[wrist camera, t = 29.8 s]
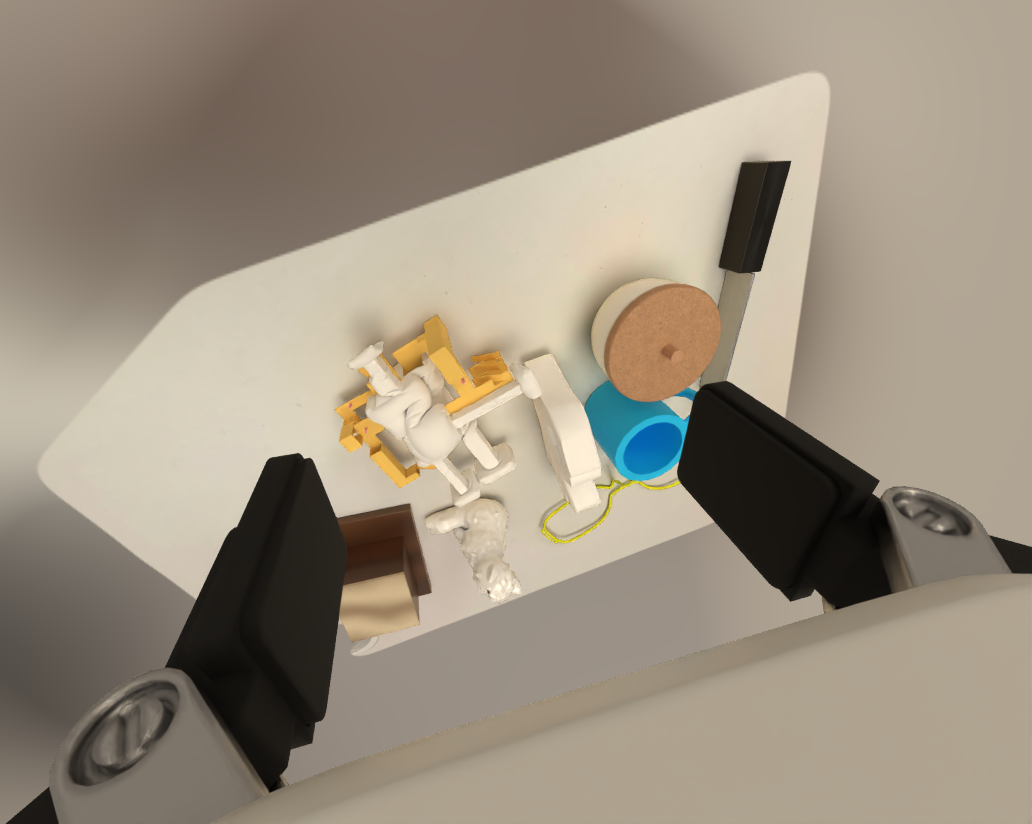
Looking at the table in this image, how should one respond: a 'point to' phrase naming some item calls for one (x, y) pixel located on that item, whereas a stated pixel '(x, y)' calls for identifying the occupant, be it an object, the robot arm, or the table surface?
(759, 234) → the tall black pillar
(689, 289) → the trinket box
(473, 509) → the white creature statuette
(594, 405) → the mug
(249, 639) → the robot arm
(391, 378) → the figure
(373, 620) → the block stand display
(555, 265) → the table surface
